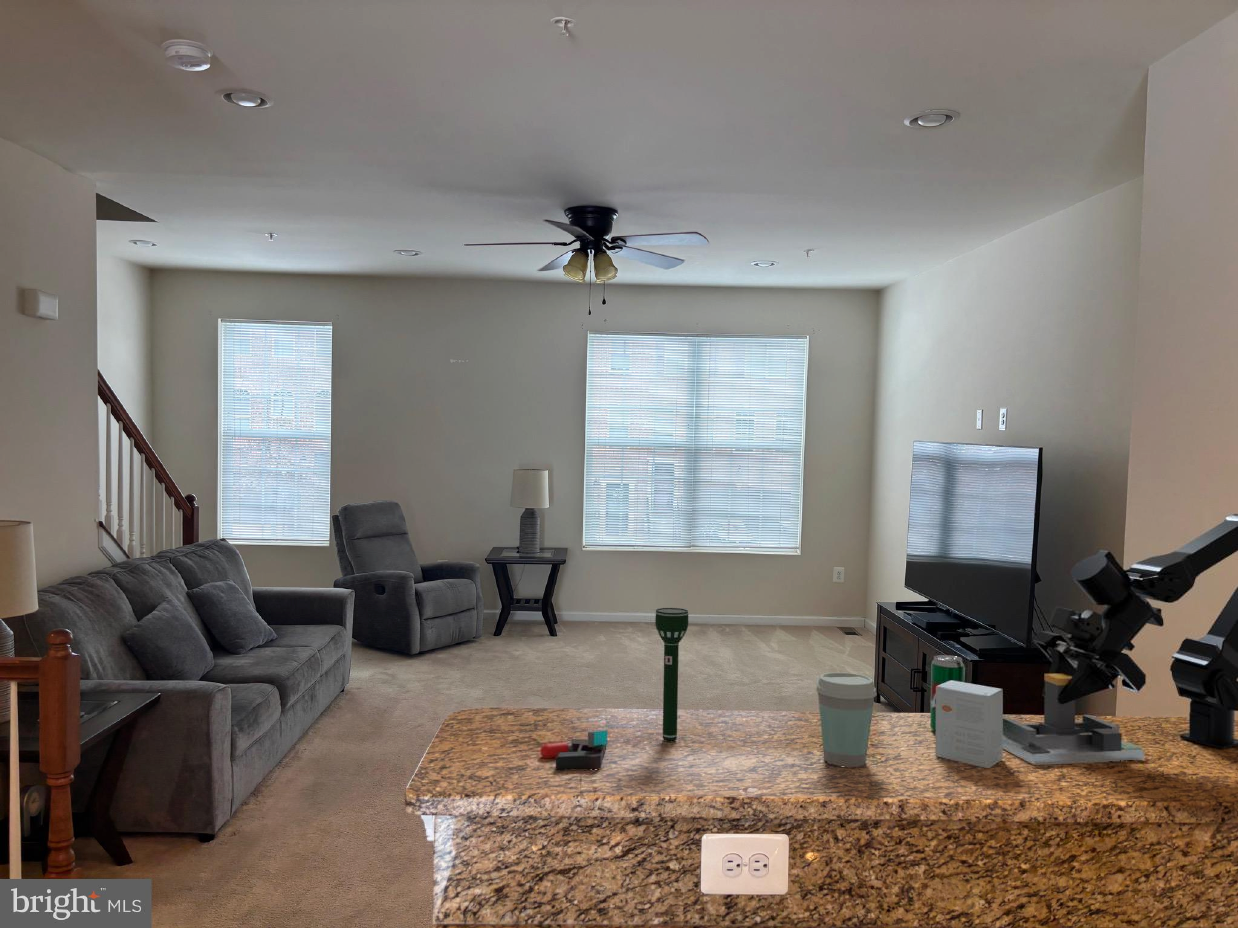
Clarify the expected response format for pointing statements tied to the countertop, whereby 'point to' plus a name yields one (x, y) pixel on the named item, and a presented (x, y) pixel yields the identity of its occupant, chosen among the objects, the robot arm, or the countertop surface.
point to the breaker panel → (1069, 743)
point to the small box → (969, 723)
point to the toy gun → (578, 752)
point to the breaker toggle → (1057, 708)
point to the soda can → (944, 678)
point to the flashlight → (671, 663)
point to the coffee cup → (845, 717)
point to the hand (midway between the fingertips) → (1051, 699)
